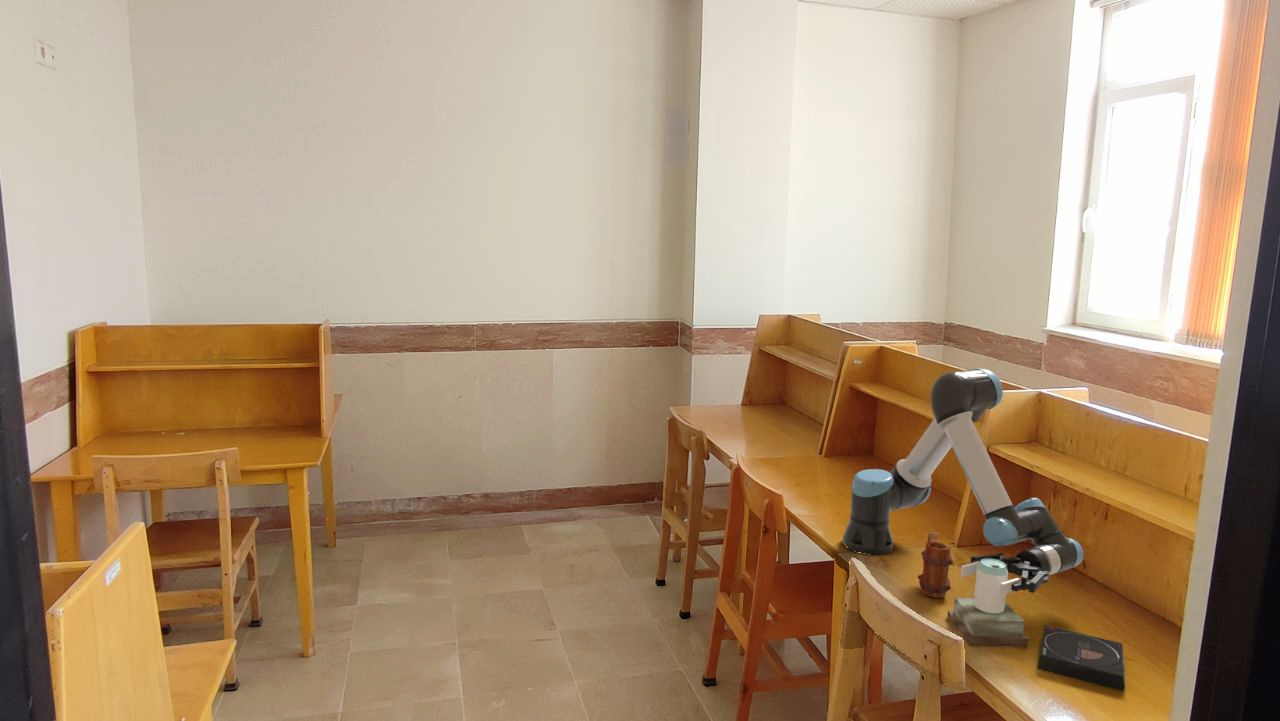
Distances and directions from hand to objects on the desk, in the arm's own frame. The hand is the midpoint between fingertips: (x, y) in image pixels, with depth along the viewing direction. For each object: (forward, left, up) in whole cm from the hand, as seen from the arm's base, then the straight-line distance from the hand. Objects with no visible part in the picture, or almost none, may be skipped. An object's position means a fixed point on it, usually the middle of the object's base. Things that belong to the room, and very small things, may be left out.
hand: (981, 580), depth 198 cm
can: (-2, +4, -9) cm, 10 cm away
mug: (-25, -1, -15) cm, 29 cm away
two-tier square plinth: (-2, +4, -15) cm, 15 cm away
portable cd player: (+12, +20, -15) cm, 28 cm away
